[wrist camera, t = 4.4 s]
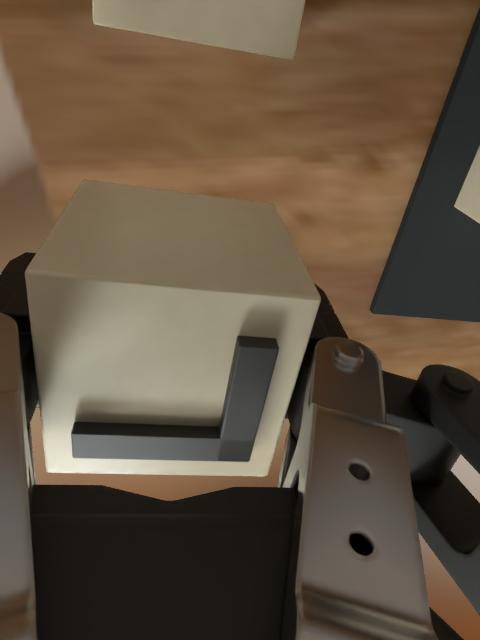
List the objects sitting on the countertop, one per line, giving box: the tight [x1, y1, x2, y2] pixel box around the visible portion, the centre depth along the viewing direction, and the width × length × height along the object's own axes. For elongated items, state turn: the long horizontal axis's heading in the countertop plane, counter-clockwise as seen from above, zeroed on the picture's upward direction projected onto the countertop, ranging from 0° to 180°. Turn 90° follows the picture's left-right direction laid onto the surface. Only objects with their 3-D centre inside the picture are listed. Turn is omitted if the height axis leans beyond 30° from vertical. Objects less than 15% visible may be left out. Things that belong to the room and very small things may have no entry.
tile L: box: [25, 180, 321, 476], centre depth 10 cm, size 5×5×5 cm
